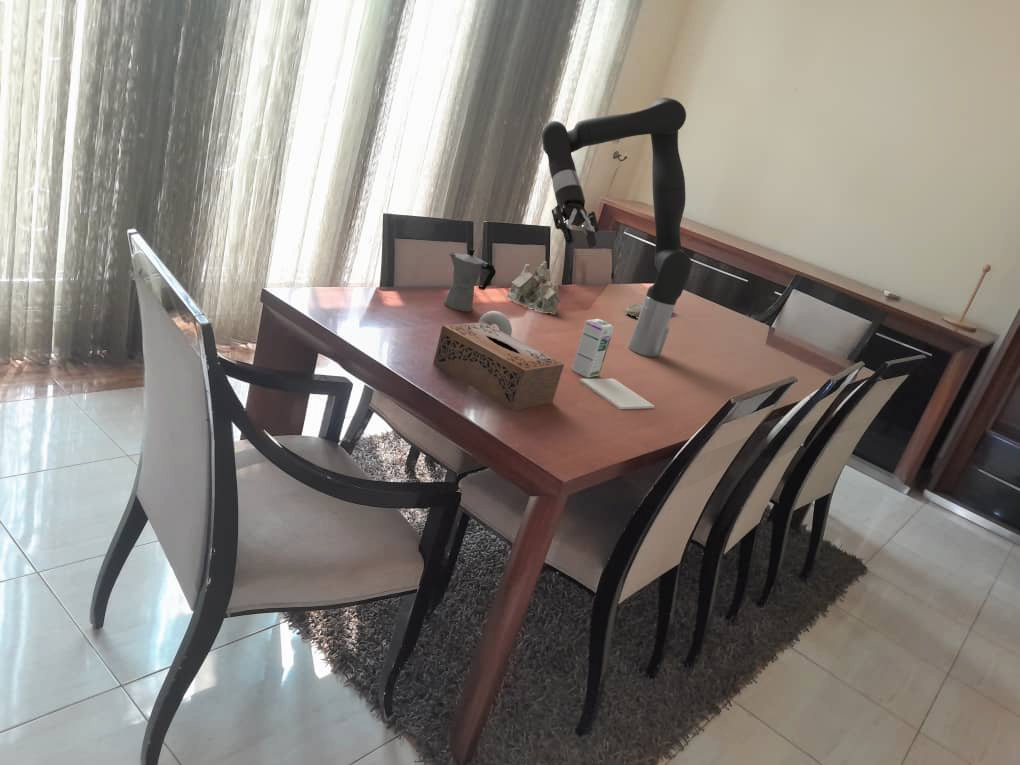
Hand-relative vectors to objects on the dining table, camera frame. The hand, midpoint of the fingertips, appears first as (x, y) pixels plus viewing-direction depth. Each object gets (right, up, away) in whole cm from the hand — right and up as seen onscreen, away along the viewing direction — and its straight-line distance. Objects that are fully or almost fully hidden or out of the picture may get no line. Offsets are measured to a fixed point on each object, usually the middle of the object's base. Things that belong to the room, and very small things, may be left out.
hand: (581, 244), depth 199 cm
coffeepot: (-34, -14, +26) cm, 45 cm away
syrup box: (+1, -34, 0) cm, 34 cm away
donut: (-25, -28, -1) cm, 37 cm away
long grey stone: (+34, -11, +86) cm, 93 cm away
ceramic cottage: (-12, -11, +51) cm, 54 cm away
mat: (+8, -40, -10) cm, 42 cm away
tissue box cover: (-24, -37, -25) cm, 51 cm away
